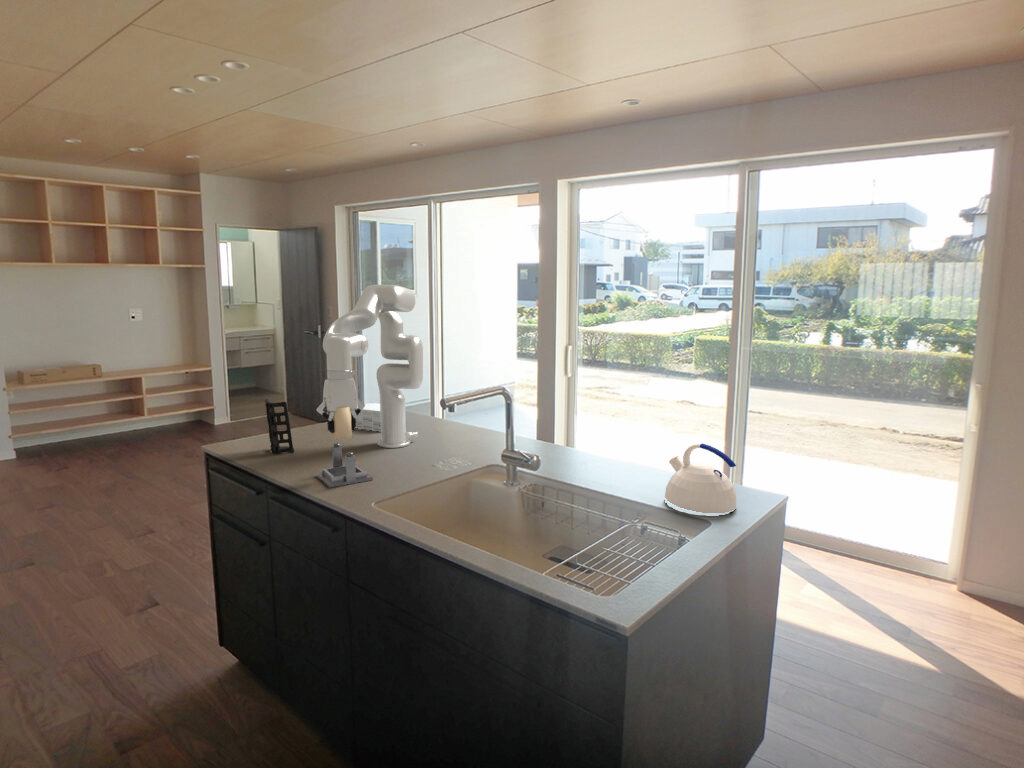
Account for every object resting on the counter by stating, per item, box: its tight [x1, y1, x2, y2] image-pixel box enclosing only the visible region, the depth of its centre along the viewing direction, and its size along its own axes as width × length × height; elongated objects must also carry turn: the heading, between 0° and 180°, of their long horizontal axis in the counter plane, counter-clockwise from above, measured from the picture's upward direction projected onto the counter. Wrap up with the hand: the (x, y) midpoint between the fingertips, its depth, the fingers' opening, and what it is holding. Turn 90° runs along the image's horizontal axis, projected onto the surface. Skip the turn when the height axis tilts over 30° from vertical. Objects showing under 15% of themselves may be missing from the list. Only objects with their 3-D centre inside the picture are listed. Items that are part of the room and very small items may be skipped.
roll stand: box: [315, 442, 374, 489], centre depth 206 cm, size 14×15×10 cm
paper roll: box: [331, 407, 353, 440], centre depth 204 cm, size 6×6×10 cm
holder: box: [264, 398, 295, 455], centre depth 235 cm, size 11×8×20 cm
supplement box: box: [354, 402, 381, 433], centre depth 276 cm, size 17×13×9 cm
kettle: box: [664, 443, 737, 513], centre depth 183 cm, size 20×21×18 cm
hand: (342, 430), depth 204 cm, fingers closed on paper roll, 6 cm apart
